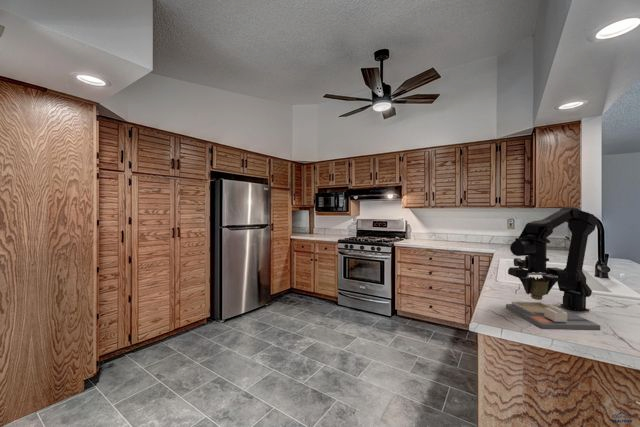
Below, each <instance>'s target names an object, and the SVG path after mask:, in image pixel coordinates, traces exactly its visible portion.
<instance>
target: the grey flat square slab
mask: <svg viewBox="0 0 640 427" xmlns="http://www.w3.org/2000/svg"><path fill="white" fill-rule="evenodd" d="M505 304H506V305H505V307H506V309H508V310H509V311H512V312H513V313H515V314H517V315H518V316H520V317H522V318H523V319H525V320H527V321H528V322H530V323H532V324H534V325H536V327H539V328H540V329H547V330H548V329H550V330H551V329H552V330H553V329H554V330H555V329H556V330H590V331H591V330H592V331H593V330H596V331H600V330H601V325H600V324H598V323H596V322H594V321H591V320H589V319H588V318H585V317H583V316H580V315H578V314H576V313H574V312H571V311H569V310H567V309H564V308H562V307H560V306H558V305H556V304H552V305H553V306H555V307H558V308H560V309H562V310H563V311H564V312H566V313H567V322H555V321H553V320H551V319H549V318H547V317H545V316H532V315H530V314H528V313H526V312H524V311H522V310H520V309H519V308H517V307H515V306H513V305H511V304H512V303H505Z"/></svg>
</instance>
